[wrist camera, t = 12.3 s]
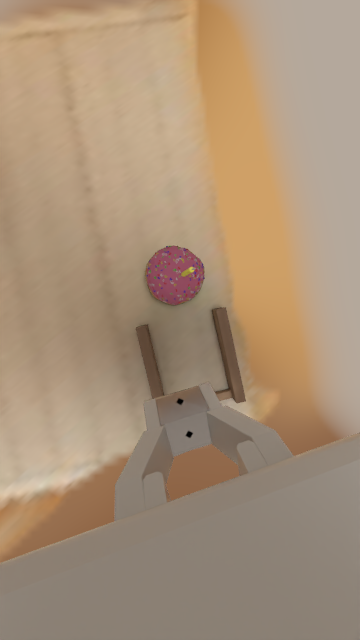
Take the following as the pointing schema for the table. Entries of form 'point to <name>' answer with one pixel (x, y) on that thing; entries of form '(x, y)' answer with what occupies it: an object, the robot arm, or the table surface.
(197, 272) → the cupcake
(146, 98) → the table surface
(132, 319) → the table surface
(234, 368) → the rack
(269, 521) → the robot arm
